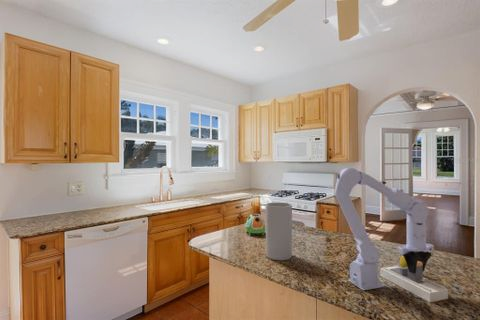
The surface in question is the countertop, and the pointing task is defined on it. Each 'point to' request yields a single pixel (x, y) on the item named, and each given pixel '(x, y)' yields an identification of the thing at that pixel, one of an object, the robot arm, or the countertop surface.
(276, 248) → the cylinder vase
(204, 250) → the countertop surface
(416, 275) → the orange and grey block
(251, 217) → the turtle holder
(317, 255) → the countertop surface
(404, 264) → the lemon
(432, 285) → the socket board
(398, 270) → the shutter
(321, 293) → the countertop surface
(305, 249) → the countertop surface
